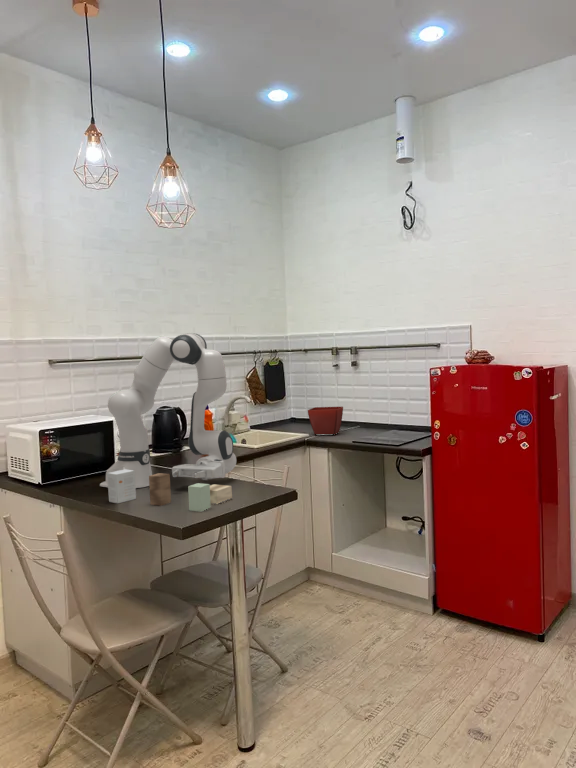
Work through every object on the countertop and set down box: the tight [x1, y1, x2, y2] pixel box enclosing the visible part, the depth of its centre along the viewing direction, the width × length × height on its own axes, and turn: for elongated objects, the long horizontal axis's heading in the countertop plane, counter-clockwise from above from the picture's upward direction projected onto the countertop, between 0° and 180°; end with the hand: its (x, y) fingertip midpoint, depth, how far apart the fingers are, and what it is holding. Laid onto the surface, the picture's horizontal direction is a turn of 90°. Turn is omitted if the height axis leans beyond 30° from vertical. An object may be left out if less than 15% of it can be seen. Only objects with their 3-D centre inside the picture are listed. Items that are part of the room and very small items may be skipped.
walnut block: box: [148, 472, 172, 507], centre depth 203 cm, size 5×5×10 cm
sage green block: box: [187, 482, 212, 513], centre depth 192 cm, size 5×5×8 cm
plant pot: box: [307, 406, 344, 435], centre depth 368 cm, size 19×19×17 cm
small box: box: [107, 469, 137, 504], centre depth 210 cm, size 8×6×10 cm
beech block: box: [210, 483, 233, 504], centre depth 203 cm, size 8×8×5 cm
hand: (184, 475), depth 214 cm, fingers open, 8 cm apart
